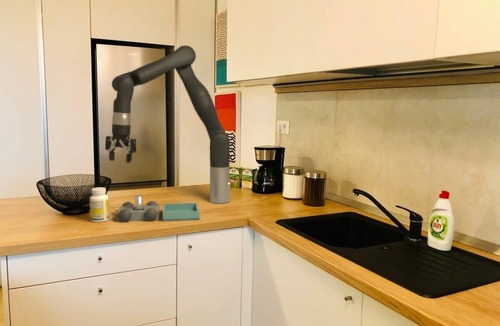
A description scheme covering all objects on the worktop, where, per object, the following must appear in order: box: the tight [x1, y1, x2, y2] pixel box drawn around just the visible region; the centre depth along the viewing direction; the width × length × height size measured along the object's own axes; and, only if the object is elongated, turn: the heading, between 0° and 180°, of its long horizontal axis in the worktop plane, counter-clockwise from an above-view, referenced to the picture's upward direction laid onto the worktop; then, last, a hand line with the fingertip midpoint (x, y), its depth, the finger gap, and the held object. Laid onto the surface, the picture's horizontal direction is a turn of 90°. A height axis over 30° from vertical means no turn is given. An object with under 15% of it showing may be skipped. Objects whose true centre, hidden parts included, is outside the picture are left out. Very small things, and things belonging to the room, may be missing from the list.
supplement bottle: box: [89, 186, 110, 223], centre depth 164 cm, size 7×7×13 cm
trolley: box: [114, 200, 160, 223], centre depth 169 cm, size 18×14×5 cm
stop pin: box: [134, 194, 144, 210], centre depth 169 cm, size 3×3×9 cm
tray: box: [162, 202, 200, 222], centre depth 173 cm, size 15×15×4 cm
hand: (120, 161), depth 176 cm, fingers open, 8 cm apart
